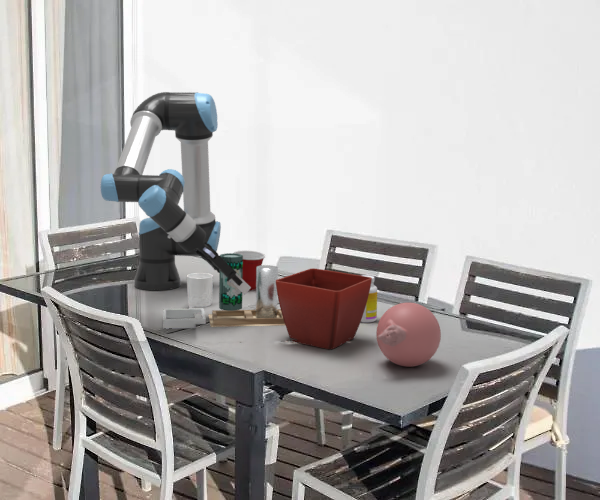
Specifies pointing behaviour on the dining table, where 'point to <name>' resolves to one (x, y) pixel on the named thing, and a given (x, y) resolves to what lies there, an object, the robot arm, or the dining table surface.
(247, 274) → the plastic cup
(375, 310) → the supplement bottle
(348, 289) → the plant pot
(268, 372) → the dining table surface
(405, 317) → the balloon
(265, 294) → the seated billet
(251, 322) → the wooden tray
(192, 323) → the frame
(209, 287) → the white cup
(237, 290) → the can
